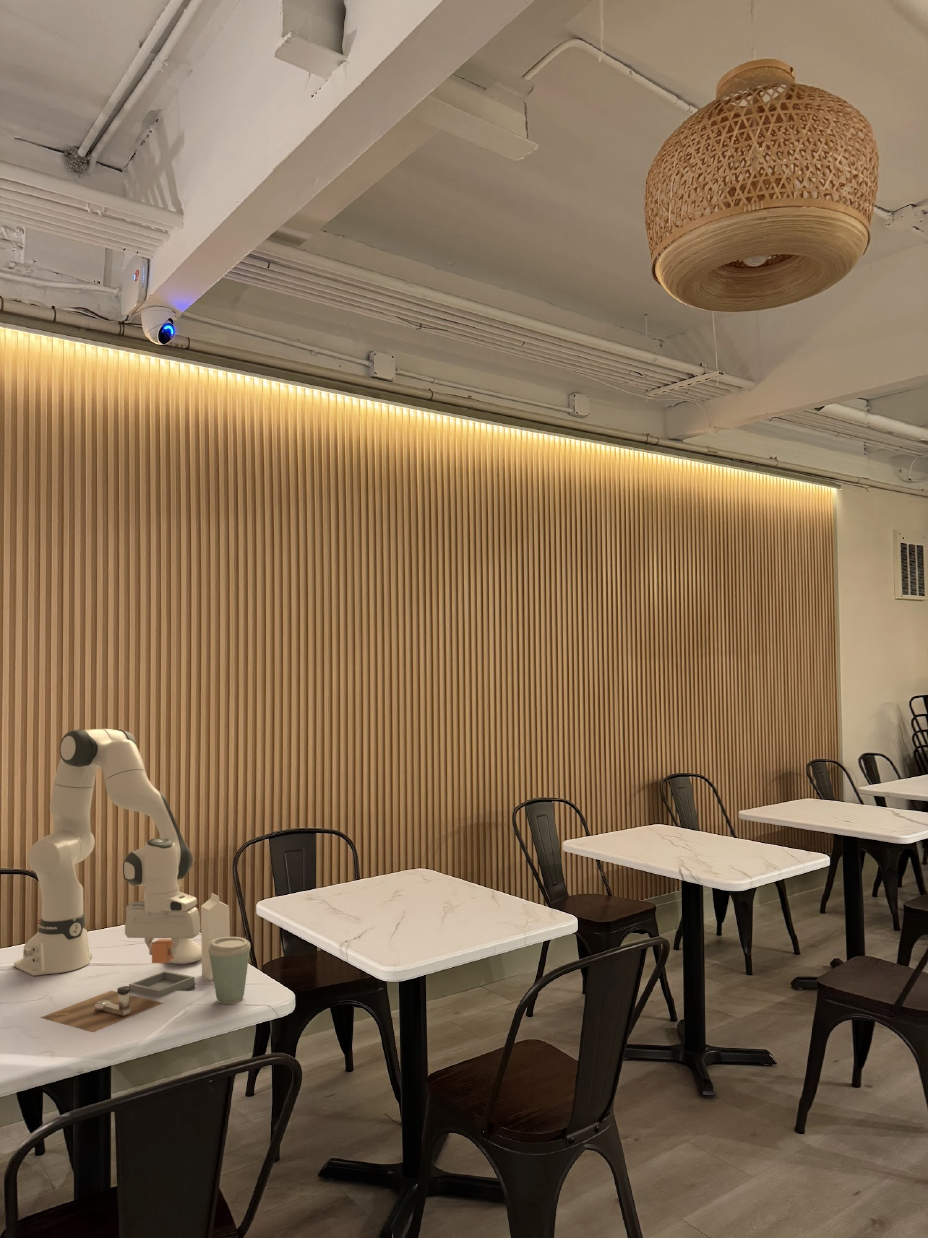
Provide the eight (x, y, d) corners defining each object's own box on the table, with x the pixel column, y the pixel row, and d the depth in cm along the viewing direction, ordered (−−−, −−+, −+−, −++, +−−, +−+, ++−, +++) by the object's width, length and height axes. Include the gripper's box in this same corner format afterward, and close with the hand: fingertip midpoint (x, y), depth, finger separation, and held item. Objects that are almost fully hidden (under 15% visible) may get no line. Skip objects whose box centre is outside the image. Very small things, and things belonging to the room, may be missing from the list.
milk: (209, 980, 239) (207, 898, 240) (201, 975, 244) (200, 894, 245) (231, 975, 242) (229, 894, 244) (222, 970, 247) (221, 890, 249)
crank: (91, 1010, 215) (91, 984, 215) (104, 1005, 218) (104, 980, 218) (121, 1018, 209) (121, 991, 210) (134, 1012, 212) (134, 987, 213)
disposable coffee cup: (249, 990, 230) (248, 931, 231) (254, 1003, 220) (253, 942, 221) (207, 996, 227) (206, 937, 228) (211, 1011, 217) (210, 949, 218)
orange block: (151, 963, 230) (151, 943, 230) (160, 958, 234) (159, 939, 234) (166, 963, 229) (165, 944, 229) (173, 958, 233) (173, 939, 233)
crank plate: (40, 1023, 212) (40, 1017, 212) (111, 996, 229) (111, 990, 229) (93, 1039, 202) (93, 1031, 202) (163, 1009, 219) (163, 1002, 219)
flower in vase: (197, 952, 264) (196, 868, 266) (211, 961, 255) (210, 874, 257) (154, 962, 256) (153, 875, 258) (166, 972, 247) (165, 882, 249)
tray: (129, 996, 229) (129, 984, 229) (164, 982, 239) (164, 970, 239) (159, 1003, 223) (159, 991, 223) (194, 988, 233) (194, 977, 233)
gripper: (119, 904, 231) (120, 957, 230) (190, 904, 228) (192, 959, 227) (132, 898, 237) (133, 950, 237) (202, 898, 234) (203, 951, 233)
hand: (162, 954), depth 232 cm, fingers closed on orange block, 4 cm apart
